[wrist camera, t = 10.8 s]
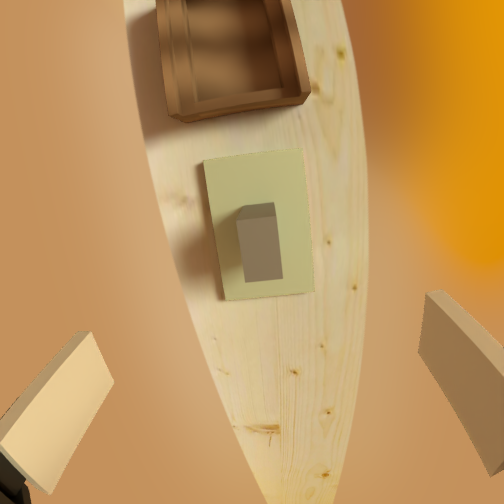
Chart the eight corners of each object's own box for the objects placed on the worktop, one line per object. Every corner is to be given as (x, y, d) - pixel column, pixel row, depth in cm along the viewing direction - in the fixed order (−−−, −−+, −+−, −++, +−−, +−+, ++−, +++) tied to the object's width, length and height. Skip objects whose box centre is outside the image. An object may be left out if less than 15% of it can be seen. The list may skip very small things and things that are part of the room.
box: (170, 1, 24) (154, -22, 18) (275, -18, 23) (276, -46, 17) (185, 123, 28) (168, 115, 23) (303, 103, 27) (311, 91, 22)
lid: (206, 160, 30) (182, 161, 21) (300, 148, 29) (314, 143, 20) (227, 294, 34) (215, 338, 26) (312, 286, 33) (326, 327, 25)
